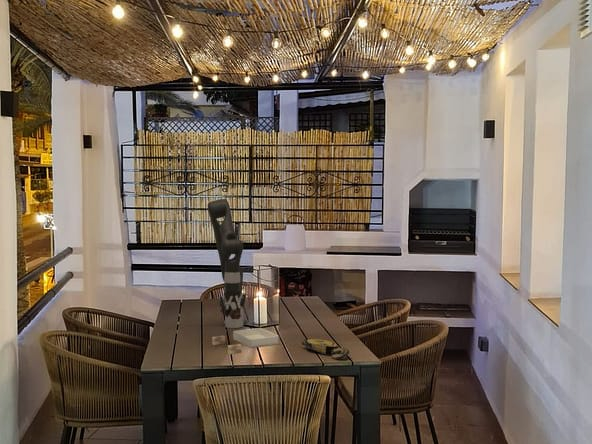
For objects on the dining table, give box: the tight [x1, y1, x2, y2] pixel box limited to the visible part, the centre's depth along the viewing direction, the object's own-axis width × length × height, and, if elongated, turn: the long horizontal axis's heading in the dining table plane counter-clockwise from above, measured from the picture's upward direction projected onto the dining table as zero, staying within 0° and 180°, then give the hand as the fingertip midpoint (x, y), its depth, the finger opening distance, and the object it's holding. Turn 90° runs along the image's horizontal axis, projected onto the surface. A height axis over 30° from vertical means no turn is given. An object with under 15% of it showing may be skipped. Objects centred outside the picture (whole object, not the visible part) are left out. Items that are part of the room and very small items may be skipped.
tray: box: [232, 327, 280, 349], centre depth 302 cm, size 16×21×4 cm
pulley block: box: [299, 338, 350, 360], centre depth 282 cm, size 14×6×30 cm
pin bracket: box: [211, 335, 242, 355], centre depth 288 cm, size 6×21×4 cm, turn 30°
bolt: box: [220, 305, 241, 319], centre depth 291 cm, size 6×5×15 cm
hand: (232, 316), depth 291 cm, fingers closed on bolt, 5 cm apart
